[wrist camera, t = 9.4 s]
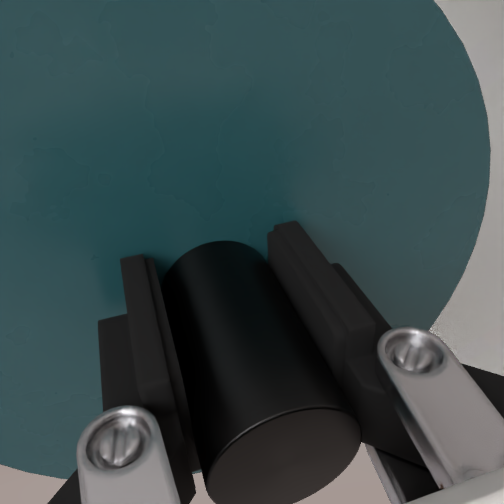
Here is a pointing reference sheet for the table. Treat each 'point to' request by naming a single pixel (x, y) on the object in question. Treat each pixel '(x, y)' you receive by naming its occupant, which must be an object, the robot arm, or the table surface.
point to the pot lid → (224, 209)
